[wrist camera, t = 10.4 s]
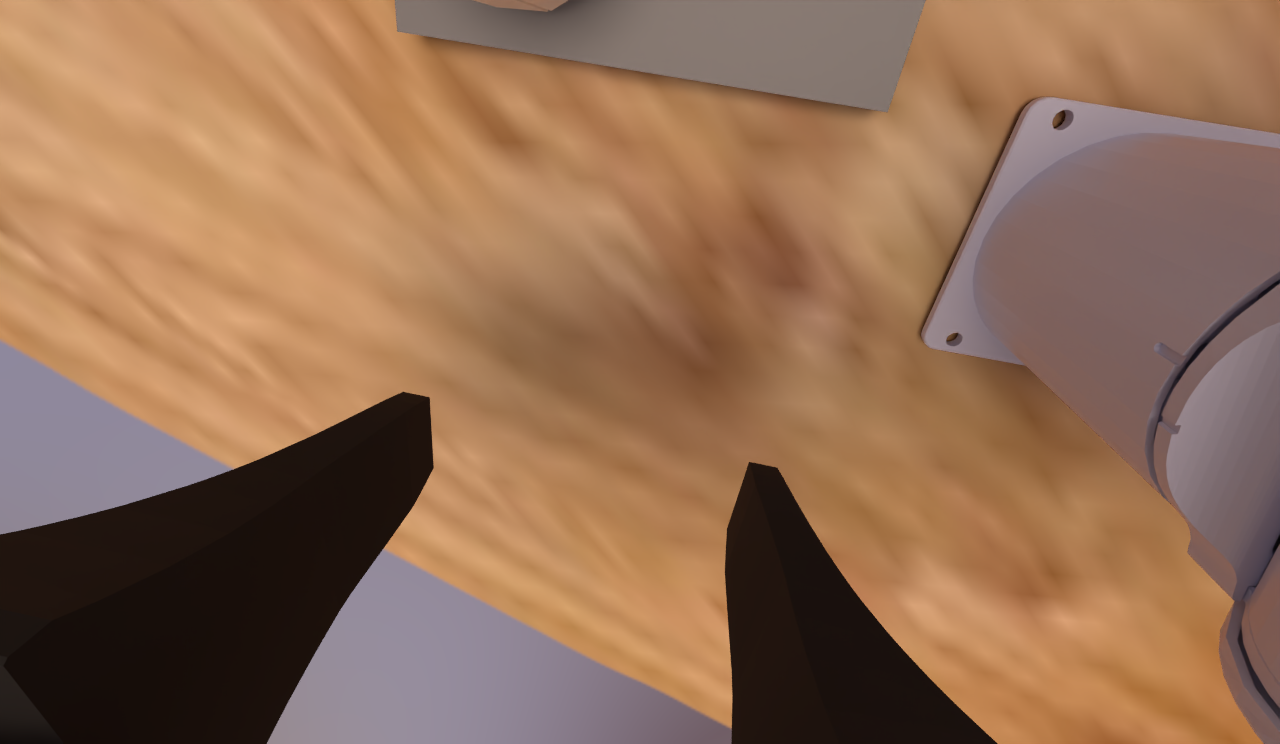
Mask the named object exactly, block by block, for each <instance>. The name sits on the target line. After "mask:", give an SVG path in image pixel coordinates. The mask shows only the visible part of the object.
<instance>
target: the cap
mask: <svg viewBox="0 0 1280 744" xmlns="http://www.w3.org/2000/svg"><path fill="white" fill-rule="evenodd" d="M474 1H477V2H480V3H484V4H487V5H491V6H494V7H499V8H511V9H522V10H534V11H545V12H548V10H550V11H552V10H554V9H555V8H557V7H558V6H560V5H562V4H563V3H565V2H566V1H568V0H474Z"/></svg>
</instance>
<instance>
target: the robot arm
mask: <svg viewBox="0 0 1280 744" xmlns="http://www.w3.org/2000/svg"><path fill="white" fill-rule="evenodd" d="M1062 110H1064V111H1065V114H1066V117H1065V121H1064V122H1063V123H1062V124H1061V126H1059V127H1057V128H1055V129H1054V128H1053V125H1052V122H1053V118H1054V117H1055V115H1056V114H1057V113H1058V112H1060V111H1062ZM952 333H958V336H957V337H956V339H955V340H952V341H946V339H947V337H948V336H949V335H950V334H952ZM921 337H922V340H923V341H924V343H925V344H926V345H927V346H928V347H930V348H932V349H937V350H942V351H948V352H953V353H959V354H964V355H970V356H975V357H981V358H986V359H992V360H997V361H1003V362H1008V363H1014V364H1019V365H1025V366H1027V367H1028V368H1029V369H1030V370H1031V371H1032V372H1033V373H1034V374H1035V375H1036V376H1037V377H1038V378H1039V379H1040V380H1041V381H1042V382H1043V383H1044V384H1045V385H1047V386H1048V387H1049V388H1050V389H1051V390H1052V391H1053V392H1054V393H1055V394H1056V395H1057V396H1058V397H1059V398H1060V399H1061V400H1062V401H1063V402H1064V403H1065V404H1066V405H1067V406H1068V407H1070V408H1071V409H1072V410H1073V411H1074V412H1075V413H1076V414H1077V415H1078V416H1079V417H1080V418H1081V419H1082V420H1083V421H1084V422H1085V423H1086V424H1087V425H1088V426H1089V427H1090V428H1092V429H1093V430H1094V431H1095V432H1096V433H1097V434H1098V435H1099V436H1100V437H1101V438H1102V439H1103V440H1104V441H1105V442H1106V443H1107V444H1108V445H1109V446H1110V447H1111V448H1112V449H1113V450H1115V451H1116V452H1117V453H1118V454H1119V455H1120V456H1121V457H1122V458H1123V459H1124V460H1125V461H1126V462H1127V463H1128V464H1129V465H1130V466H1131V467H1132V468H1133V469H1134V470H1135V471H1137V472H1138V473H1139V474H1140V475H1141V476H1142V477H1143V478H1144V479H1145V480H1146V481H1147V482H1148V483H1149V484H1150V485H1151V486H1152V487H1153V488H1154V489H1155V490H1156V491H1157V492H1158V493H1160V494H1161V495H1162V496H1163V497H1164V498H1165V499H1166V500H1167V501H1168V502H1169V503H1170V504H1172V505H1173V507H1174V508H1175V509H1176V510H1177V511H1178V512H1179V513H1180V514H1181V516H1182V517H1183V518H1184V519H1185V521H1186V522H1187V524H1188V526H1189V529H1190V535H1191V540H1190V544H1189V547H1188V554H1189V555H1190V556H1191V557H1192V558H1193V559H1194V560H1195V561H1196V562H1197V563H1198V564H1199V565H1200V566H1201V567H1202V568H1203V569H1204V570H1205V571H1206V572H1207V573H1208V575H1209V576H1210V577H1211V578H1212V579H1213V580H1214V581H1215V582H1216V583H1217V584H1218V585H1219V586H1220V587H1221V588H1222V589H1223V590H1224V591H1225V592H1226V593H1227V594H1228V595H1229V596H1230V597H1231V598H1232V599H1233V600H1235V602H1234V603H1233V605H1232V607H1231V609H1230V611H1229V613H1228V615H1227V617H1226V619H1225V621H1224V623H1223V626H1222V628H1221V630H1220V641H1219V656H1220V660H1221V665H1222V670H1223V675H1224V678H1225V680H1226V682H1227V685H1228V687H1229V689H1230V691H1231V693H1232V696H1233V698H1234V700H1235V702H1236V704H1237V706H1238V707H1239V709H1240V710H1241V712H1242V713H1243V715H1244V716H1245V718H1246V720H1247V721H1248V723H1249V724H1250V726H1251V727H1252V729H1253V730H1254V732H1255V733H1256V735H1257V736H1258V737H1259V738H1260V739H1261V741H1262V742H1263V743H1264V744H1280V134H1278V133H1271V132H1265V131H1259V130H1253V129H1247V128H1241V127H1234V126H1228V125H1222V124H1216V123H1210V122H1203V121H1197V120H1191V119H1185V118H1179V117H1173V116H1166V115H1160V114H1154V113H1148V112H1142V111H1135V110H1129V109H1123V108H1117V107H1111V106H1105V105H1098V104H1092V103H1086V102H1080V101H1074V100H1068V99H1061V98H1055V97H1039V98H1037V99H1035V100H1032V101H1031V102H1030V103H1029V104H1028V105H1026V106H1025V108H1024V109H1023V111H1022V112H1021V114H1020V116H1019V119H1018V121H1017V123H1016V125H1015V127H1014V130H1013V132H1012V134H1011V136H1010V138H1009V141H1008V143H1007V145H1006V147H1005V149H1004V152H1003V154H1002V156H1001V158H1000V160H999V163H998V165H997V167H996V169H995V171H994V174H993V176H992V178H991V180H990V182H989V185H988V187H987V189H986V191H985V193H984V196H983V198H982V200H981V202H980V204H979V206H978V209H977V211H976V213H975V215H974V217H973V220H972V222H971V224H970V226H969V228H968V231H967V233H966V235H965V237H964V239H963V242H962V244H961V246H960V248H959V250H958V253H957V255H956V257H955V259H954V261H953V264H952V266H951V268H950V270H949V272H948V275H947V277H946V279H945V281H944V283H943V286H942V288H941V290H940V292H939V294H938V297H937V299H936V301H935V303H934V305H933V308H932V310H931V312H930V314H929V316H928V319H927V321H926V323H925V325H924V327H923V329H922V333H921ZM433 468H434V467H433V449H432V432H431V415H430V398H429V397H425V396H420V395H415V394H410V393H405V392H402V393H400V394H397V395H395V396H393V397H391V398H389V399H386V400H384V401H382V402H380V403H378V404H376V405H374V406H372V407H370V408H368V409H366V410H364V411H362V412H360V413H358V414H356V415H354V416H352V417H350V418H348V419H346V420H344V421H342V422H340V423H338V424H336V425H334V426H332V427H330V428H328V429H326V430H323V431H321V432H319V433H317V434H315V435H313V436H311V437H309V438H306V439H304V440H302V441H300V442H297V443H295V444H293V445H291V446H288V447H286V448H284V449H282V450H279V451H277V452H275V453H273V454H270V455H268V456H266V457H264V458H261V459H259V460H256V461H254V462H251V463H249V464H246V465H244V466H241V467H239V468H236V469H234V470H231V471H229V472H225V473H223V474H220V475H217V476H215V477H211V478H209V479H206V480H203V481H200V482H197V483H194V484H191V485H189V486H185V487H182V488H179V489H175V490H173V491H169V492H166V493H162V494H159V495H156V496H153V497H150V498H146V499H143V500H140V501H136V502H133V503H130V504H127V505H123V506H119V507H115V508H112V509H108V510H104V511H100V512H97V513H93V514H89V515H85V516H81V517H77V518H73V519H68V520H64V521H60V522H56V523H52V524H47V525H43V526H39V527H34V528H30V529H25V530H21V531H16V532H11V533H6V534H1V535H0V744H267V742H268V740H269V738H270V736H271V734H272V732H273V730H274V728H275V726H276V724H277V722H278V720H279V718H280V716H281V714H282V712H283V711H284V709H285V706H286V705H287V703H288V701H289V699H290V697H291V695H292V694H293V692H294V690H295V688H296V686H297V685H298V683H299V681H300V679H301V677H302V676H303V674H304V672H305V670H306V668H307V667H308V665H309V663H310V661H311V659H312V657H313V656H314V654H315V652H316V650H317V649H318V647H319V645H320V643H321V642H322V640H323V638H324V637H325V635H326V633H327V631H328V630H329V628H330V626H331V625H332V623H333V621H334V619H335V618H336V616H337V614H338V613H339V611H340V609H341V608H342V606H343V605H344V603H345V602H346V600H347V599H348V597H349V595H350V594H351V593H352V591H353V590H354V588H355V587H356V586H357V584H358V583H359V581H360V580H361V579H362V577H363V576H364V575H365V573H366V572H367V570H368V569H369V567H370V566H371V565H372V563H373V562H374V561H375V559H376V558H377V556H378V555H379V554H380V552H381V551H382V550H383V548H384V547H385V545H386V544H387V543H388V541H389V540H390V538H391V537H392V536H393V534H394V533H395V531H396V530H397V529H398V527H399V526H400V524H401V523H402V522H403V520H404V519H405V517H406V516H407V514H408V513H409V512H410V510H411V509H412V507H413V506H414V504H415V502H416V500H417V498H418V497H419V495H420V493H421V491H422V489H423V487H424V485H425V484H426V482H427V480H428V478H429V476H430V474H431V472H432V470H433ZM725 580H726V596H727V611H728V625H729V639H730V653H731V667H732V692H733V703H732V744H997V743H996V742H995V741H994V740H993V739H992V738H991V737H990V736H989V735H988V734H986V733H985V732H984V731H983V730H982V729H981V728H980V727H979V726H978V725H977V724H976V723H975V722H974V721H973V720H972V719H971V718H969V717H968V716H967V715H966V714H965V713H964V712H963V711H962V710H961V709H960V708H959V707H958V706H957V705H956V704H955V703H954V702H953V701H952V700H951V699H950V698H949V697H948V696H947V695H946V694H945V693H944V692H943V691H942V690H941V689H940V688H939V687H938V686H937V685H936V684H935V683H934V682H933V681H932V680H931V679H930V678H929V677H928V676H927V675H926V674H925V673H924V672H923V671H922V670H921V669H920V668H919V667H918V665H917V664H916V663H915V662H914V661H913V660H912V659H911V658H910V657H909V656H908V655H907V654H906V653H905V652H904V651H903V649H902V648H901V647H900V646H899V645H898V644H897V643H896V642H895V640H894V639H893V638H892V637H891V636H890V635H889V634H888V632H887V631H886V630H885V629H884V628H883V626H882V625H881V624H880V623H879V622H878V620H877V619H876V618H875V617H874V615H873V614H872V613H871V612H870V611H869V609H868V608H867V607H866V606H865V604H864V603H863V602H862V601H861V599H860V598H859V597H858V595H857V594H856V593H855V592H854V590H853V589H852V588H851V586H850V585H849V583H848V582H847V581H846V579H845V578H844V576H843V575H842V574H841V572H840V571H839V569H838V568H837V566H836V565H835V563H834V562H833V560H832V559H831V557H830V556H829V554H828V553H827V551H826V550H825V548H824V547H823V545H822V543H821V542H820V540H819V539H818V537H817V535H816V534H815V532H814V531H813V529H812V527H811V526H810V524H809V522H808V521H807V519H806V517H805V516H804V514H803V512H802V511H801V509H800V507H799V505H798V504H797V502H796V500H795V498H794V496H793V495H792V493H791V491H790V489H789V488H788V486H787V484H786V482H785V480H784V478H783V477H782V475H781V473H780V472H779V470H778V468H776V467H771V466H766V465H761V464H756V463H751V462H749V464H748V467H747V470H746V473H745V476H744V479H743V483H742V486H741V489H740V492H739V495H738V498H737V501H736V504H735V507H734V510H733V513H732V516H731V519H730V522H729V525H728V528H727V541H726V560H725Z"/></svg>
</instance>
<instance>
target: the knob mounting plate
mask: <svg viewBox="0 0 1280 744" xmlns="http://www.w3.org/2000/svg"><path fill="white" fill-rule="evenodd" d="M925 1H926V0H568V1H566V2H565V3H563V4H562V5H560V6H558V7H557V8H555V9H554V10H552V11H550V10H548V12H545V11H534V10H522V9H511V8H499V7H494V6H491V5H487V4H484V3H480V2H477V1H474V0H395V8H396V21H397V31H398V32H404V33H410V34H416V35H422V36H428V37H434V38H440V39H446V40H452V41H458V42H464V43H470V44H476V45H482V46H489V47H495V48H501V49H507V50H513V51H519V52H525V53H531V54H537V55H543V56H549V57H555V58H561V59H567V60H573V61H579V62H586V63H592V64H598V65H604V66H610V67H616V68H622V69H628V70H634V71H640V72H646V73H652V74H658V75H664V76H670V77H676V78H683V79H689V80H695V81H701V82H707V83H713V84H719V85H725V86H731V87H737V88H743V89H749V90H755V91H761V92H767V93H773V94H780V95H786V96H792V97H798V98H804V99H810V100H816V101H822V102H828V103H834V104H840V105H846V106H852V107H858V108H864V109H871V110H877V111H883V112H888V109H889V106H890V103H891V101H892V98H893V95H894V92H895V89H896V86H897V83H898V80H899V77H900V74H901V71H902V68H903V65H904V62H905V59H906V56H907V53H908V51H909V48H910V45H911V42H912V39H913V36H914V33H915V30H916V27H917V24H918V21H919V18H920V15H921V12H922V9H923V6H924V4H925Z"/></svg>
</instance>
